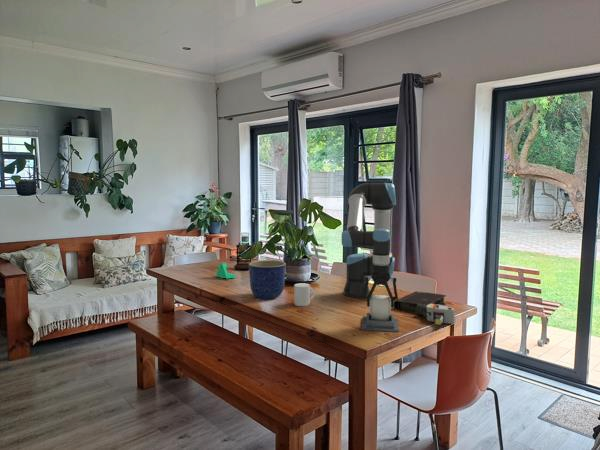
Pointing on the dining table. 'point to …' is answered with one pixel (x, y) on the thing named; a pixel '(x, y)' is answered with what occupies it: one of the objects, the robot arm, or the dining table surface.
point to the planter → (267, 278)
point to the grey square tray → (380, 324)
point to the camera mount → (224, 272)
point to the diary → (418, 300)
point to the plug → (380, 308)
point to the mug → (302, 294)
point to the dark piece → (241, 265)
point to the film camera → (436, 313)
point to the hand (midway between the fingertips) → (380, 314)
